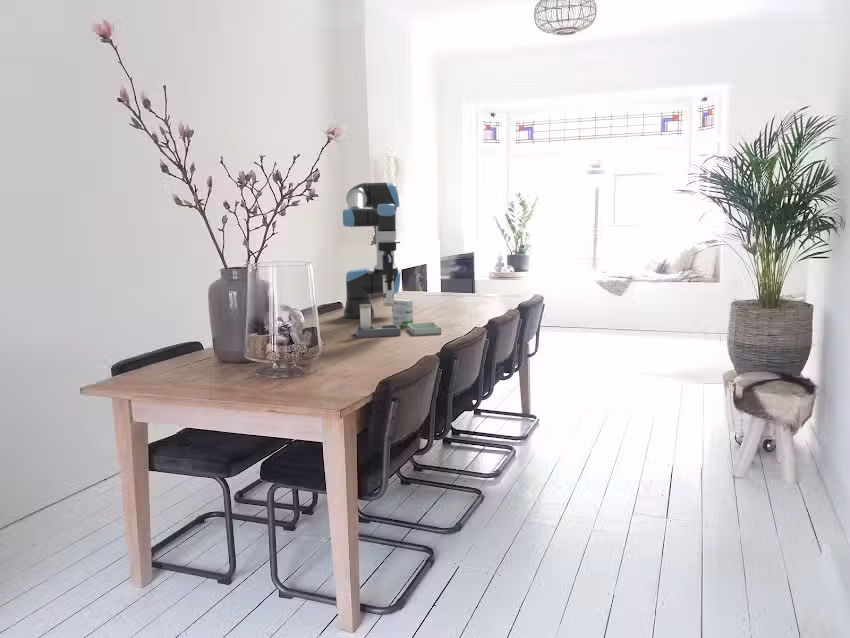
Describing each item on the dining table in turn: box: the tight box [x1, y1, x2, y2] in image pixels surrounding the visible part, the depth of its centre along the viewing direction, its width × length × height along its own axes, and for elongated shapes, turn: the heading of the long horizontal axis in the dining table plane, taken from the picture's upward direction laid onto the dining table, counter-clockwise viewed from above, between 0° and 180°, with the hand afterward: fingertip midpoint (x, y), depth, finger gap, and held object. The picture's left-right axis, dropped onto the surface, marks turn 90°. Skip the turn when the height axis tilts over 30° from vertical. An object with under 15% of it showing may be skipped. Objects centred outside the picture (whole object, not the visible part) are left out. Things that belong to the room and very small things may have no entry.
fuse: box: [359, 303, 372, 329], centre depth 297 cm, size 5×5×13 cm
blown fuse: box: [382, 274, 395, 307], centre depth 297 cm, size 5×5×13 cm
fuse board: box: [354, 324, 402, 338], centre depth 299 cm, size 10×18×3 cm, turn 102°
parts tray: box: [406, 321, 442, 336], centre depth 303 cm, size 14×12×3 cm
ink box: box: [391, 298, 414, 328], centre depth 318 cm, size 9×5×12 cm, turn 60°
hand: (388, 296), depth 298 cm, fingers closed on blown fuse, 4 cm apart
